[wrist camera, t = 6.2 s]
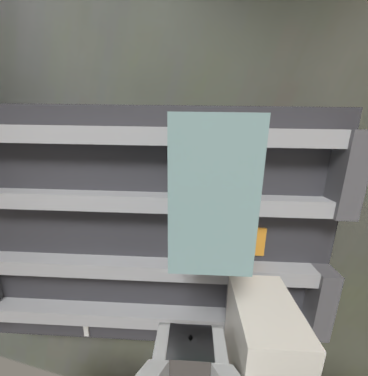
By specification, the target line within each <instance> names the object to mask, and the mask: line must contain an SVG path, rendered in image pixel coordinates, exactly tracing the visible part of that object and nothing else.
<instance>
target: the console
mask: <svg viewBox="0 0 368 376" xmlns="http://www.w3.org/2000/svg"><path fill="white" fill-rule="evenodd" d="M362 109H363V107H279V106H186V105H93V104H0V332H2V333H20V334H38V335H57V336H75V337H94V338H112V339H130V340H149V341H155V340H156V335H157V330H158V325H159V322H164V323H178V324H197V325H217V326H223V328H224V331H225V319H226V306H225V305H226V293H227V285H228V281H229V276H217V275H193V274H169V273H168V160H167V111H173V112H257V113H271V115H270V124H269V133H268V142H267V151H266V160H265V168H264V177H263V186H262V195H261V204H260V213H259V222H258V230H257V239H256V248H255V257H254V266H253V275H262V276H280V278H281V279H282V281H283V283H284V284H285V286H286V287H287V289H288V291H289V292H290V294H291V296H292V297H293V299H294V301H295V302H296V304H297V305H298V307H299V309H300V310H301V312H302V314H303V315H304V317H305V318H306V320H307V322H308V323H309V325H310V327H311V328H312V330H313V332H314V333H315V335H316V336H317V338H318V340H319V341H320V342H325V343H329V342H330V337H331V333H332V329H333V325H334V321H335V317H336V313H337V308H338V304H339V300H340V296H341V292H342V288H343V284H344V279H345V278H344V277H343V276H341V275H340V274H339V273H338V272H337V271H336V270H335V269H334V268H333V267H332V266H331V265H330V264H329V262H330V257H331V253H332V248H333V243H334V239H335V234H336V229H337V225H338V221H357V222H358V221H359V217H360V213H361V209H362V205H363V201H364V196H365V192H366V188H367V184H368V130H359V129H358V127H359V123H360V118H361V113H362Z"/></svg>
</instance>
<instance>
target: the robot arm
mask: <svg viewBox="0 0 368 376" xmlns="http://www.w3.org/2000/svg"><path fill="white" fill-rule="evenodd" d="M135 376H241V375H240V373H239V372H238V371H237V369H236V368H235V367H234V365H233V364H229V360H228V353H227V347H226V341H225V334H224V328H223V326H217V325H197V324H178V323H164V322H159V325H158V330H157V335H156V340H155V346H154V351H153V356H152V359H148V360H147V361H146V363H145V364H144V365H143V366H142V367H141V369H140V370H139V371H138V372H137V373H136V375H135Z"/></svg>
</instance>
